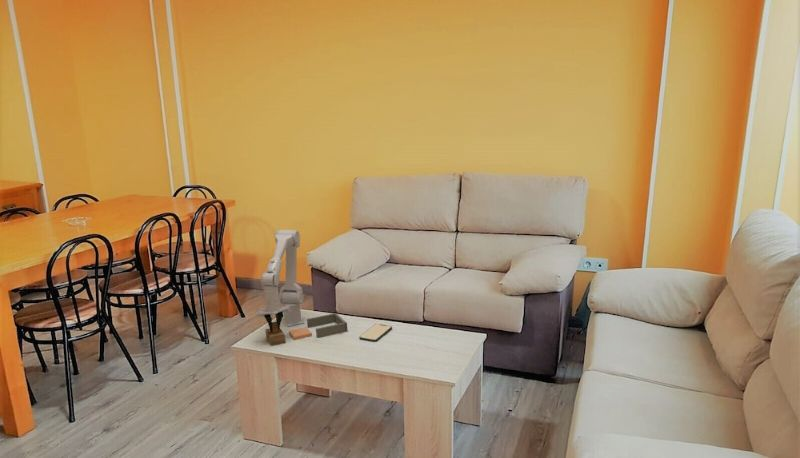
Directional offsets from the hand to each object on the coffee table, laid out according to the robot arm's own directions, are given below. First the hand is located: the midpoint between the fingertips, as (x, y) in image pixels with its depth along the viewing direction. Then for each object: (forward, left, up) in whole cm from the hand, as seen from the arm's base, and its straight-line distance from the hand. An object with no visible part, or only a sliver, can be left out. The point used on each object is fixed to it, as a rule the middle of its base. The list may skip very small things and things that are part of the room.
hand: (274, 329), depth 254 cm
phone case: (+16, +40, -6) cm, 44 cm away
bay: (0, +24, -5) cm, 24 cm away
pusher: (0, 0, -5) cm, 5 cm away
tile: (0, +11, -5) cm, 12 cm away
